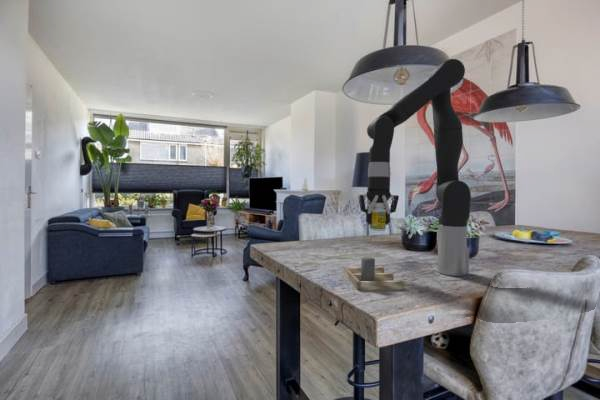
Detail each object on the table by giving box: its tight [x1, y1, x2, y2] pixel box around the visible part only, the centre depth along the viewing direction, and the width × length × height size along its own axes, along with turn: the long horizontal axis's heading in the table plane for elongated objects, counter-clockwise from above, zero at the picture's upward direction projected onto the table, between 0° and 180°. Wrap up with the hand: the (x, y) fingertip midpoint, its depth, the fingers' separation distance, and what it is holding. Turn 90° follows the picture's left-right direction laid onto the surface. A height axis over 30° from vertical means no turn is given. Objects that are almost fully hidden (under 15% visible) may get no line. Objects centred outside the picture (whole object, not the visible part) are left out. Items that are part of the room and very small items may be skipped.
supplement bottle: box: [369, 203, 387, 232], centre depth 104 cm, size 5×5×10 cm
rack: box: [343, 266, 405, 291], centre depth 95 cm, size 14×17×3 cm
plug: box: [360, 256, 376, 281], centre depth 91 cm, size 4×4×8 cm
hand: (377, 224), depth 104 cm, fingers closed on supplement bottle, 5 cm apart
